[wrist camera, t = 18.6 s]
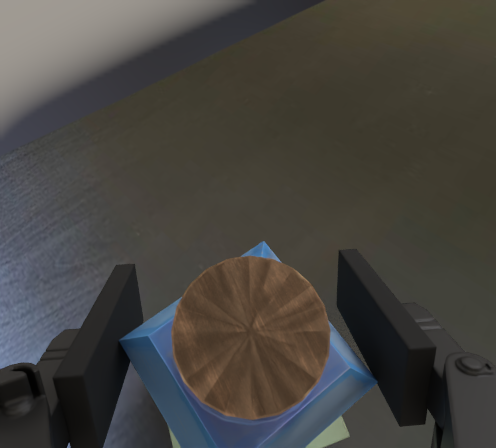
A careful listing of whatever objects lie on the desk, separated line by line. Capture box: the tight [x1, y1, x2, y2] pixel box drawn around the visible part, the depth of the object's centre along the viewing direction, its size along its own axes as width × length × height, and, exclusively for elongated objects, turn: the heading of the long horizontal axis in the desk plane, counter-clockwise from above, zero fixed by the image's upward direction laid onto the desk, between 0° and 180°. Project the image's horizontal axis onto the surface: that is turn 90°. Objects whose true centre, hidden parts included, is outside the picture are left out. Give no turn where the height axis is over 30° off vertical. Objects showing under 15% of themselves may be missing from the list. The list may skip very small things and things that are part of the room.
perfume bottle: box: [119, 241, 378, 448], centre depth 13 cm, size 6×6×12 cm
